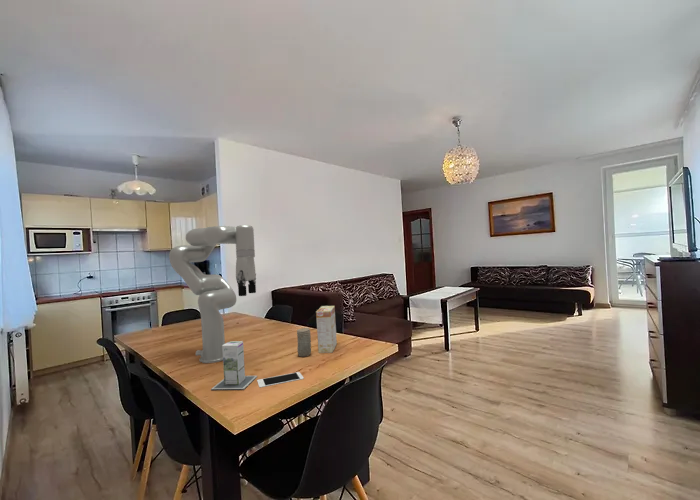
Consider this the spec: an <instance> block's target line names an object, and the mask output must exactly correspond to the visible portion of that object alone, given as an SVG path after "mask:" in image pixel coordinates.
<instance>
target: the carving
mask: <svg viewBox="0 0 700 500" xmlns="http://www.w3.org/2000/svg"><path fill="white" fill-rule="evenodd" d="M296 335H297V336H296V337H297V354H298V356H299V357H302V358H304V357H309V356H310V355H311V353H312V348H311V347H312V341H311V338H312V336H311V335H312V334H311V330H310V328H309V327H304V328H299V329H297V330H296Z"/></svg>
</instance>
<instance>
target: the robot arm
mask: <svg viewBox="0 0 700 500" xmlns="http://www.w3.org/2000/svg"><path fill="white" fill-rule="evenodd" d="M254 230H255V229H254V227H253V226H252V225H249V224H247V225H246V224H242V225H237V226H230V225H229V226H226V225H215V226H207V227H201V228H200V227H199V228H192V229H191V230H189V231H188V232H186V234H185V241H186V242H187V245H177V246H174V247H173V248H171V250H170V251H169V259H168V260H169V263H170V265H171V267H172V269H173V270H174V271H175V273H176V274H177V275H179V276H180V277H181V279H182V280H183V281H184V283H185V284H186V285H187V286H188V288H189V290H191V292H192V293H193V294H194V295H195V296H198V298H197V304H198V309H199V314H200V321H201V323H200V324H201V339H202V342H201V343H202V350H201V349H200V350H199V349H197V350H196V351H195V354H194V355H195V356H198V357H199V356H200V357H199V362H200V363H201V362H202V364H213V363H219V362H223V351H222V345H224V344H225V343H226V341H225V323H224V321H225V320H224V317H223V316H222V314H221V313H220V311H221V310H224V309H226V310H227V309H229V308H232V307H234V306H235V305H236V303H237V294H236V293H235V291H234V290H233V288H232V287H231V286H230V284H229V283H228V282H227V281H226V279H225V278H224V277H223V276H221V275H219V274H217V273H216V274H205V273H203V272H202V271H201V269H200V268H199V267H198V266H196V265H195V264H193V263H201V262H204V261H206V260H207V259H208V257H210V255H211V253H212V252H213V250H214V249H215V247H216V245H219V244H220V245H226V244H227V245H229V244H231V245H235V254H236V262H235V280H236V283H237V287H238V289H237V290H238V291H237V293H238V296H239V297H246V296H247V295H248V294H247V289H248V293H249V294H256V293H257V285H256V283H257V281H256V279H257V278H256V276H257V273H256V264H255V257H256V255H255V254H256V253H255V252H256V251H255V250H256V249H255V235H254V234H255V233H254ZM188 244H189V245H188ZM247 282H248V284H247ZM246 284H247V285H246ZM247 287H248V288H247Z"/></svg>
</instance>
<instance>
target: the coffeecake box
mask: <svg viewBox="0 0 700 500" xmlns="http://www.w3.org/2000/svg"><path fill="white" fill-rule="evenodd" d="M335 310H336V308H335V305H321V306H320V307H319V308H318V309H316V311H315V314H316V315H315V317H316V332H317V334H316V335H317V354H326V353H327V354H331V353H334V351H335V349H336V347H337V344H338V342H337V325H336V311H335Z"/></svg>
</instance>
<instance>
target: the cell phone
mask: <svg viewBox="0 0 700 500" xmlns="http://www.w3.org/2000/svg"><path fill="white" fill-rule="evenodd" d="M304 379H305V378H304V376H303V374H302V373H301V372H300V371H295V372H292V373H285V374H280V375H275V376H269V377H266V378H265V377H264V378H260V379H257V380H256V382H257V384H258V387H259V389H260V388H264V387H270V386H276V385H280V384H285V383H291V382H295V381H300V380H304Z"/></svg>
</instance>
